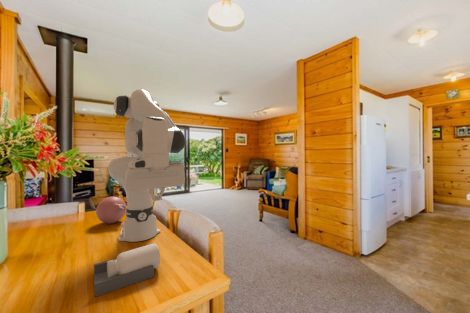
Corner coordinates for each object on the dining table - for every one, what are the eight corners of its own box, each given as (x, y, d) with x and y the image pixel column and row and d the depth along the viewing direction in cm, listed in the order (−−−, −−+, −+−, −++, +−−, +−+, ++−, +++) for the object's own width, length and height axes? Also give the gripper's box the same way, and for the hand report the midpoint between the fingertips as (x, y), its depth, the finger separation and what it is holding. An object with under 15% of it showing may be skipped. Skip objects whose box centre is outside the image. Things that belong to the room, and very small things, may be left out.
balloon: (108, 230, 109) (107, 201, 109) (91, 224, 121) (91, 197, 121) (136, 222, 122) (135, 196, 122) (118, 217, 133) (118, 193, 133)
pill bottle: (153, 238, 76) (105, 252, 66) (161, 250, 70) (110, 267, 60) (153, 258, 77) (106, 273, 68) (160, 271, 71) (110, 290, 62)
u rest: (94, 275, 69) (94, 264, 69) (145, 260, 78) (145, 251, 78) (94, 296, 59) (94, 284, 59) (153, 277, 68) (153, 266, 68)
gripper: (181, 160, 83) (181, 195, 83) (123, 162, 71) (124, 202, 71) (187, 161, 77) (187, 198, 78) (125, 163, 66) (126, 206, 66)
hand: (156, 200), depth 74 cm, fingers closed
